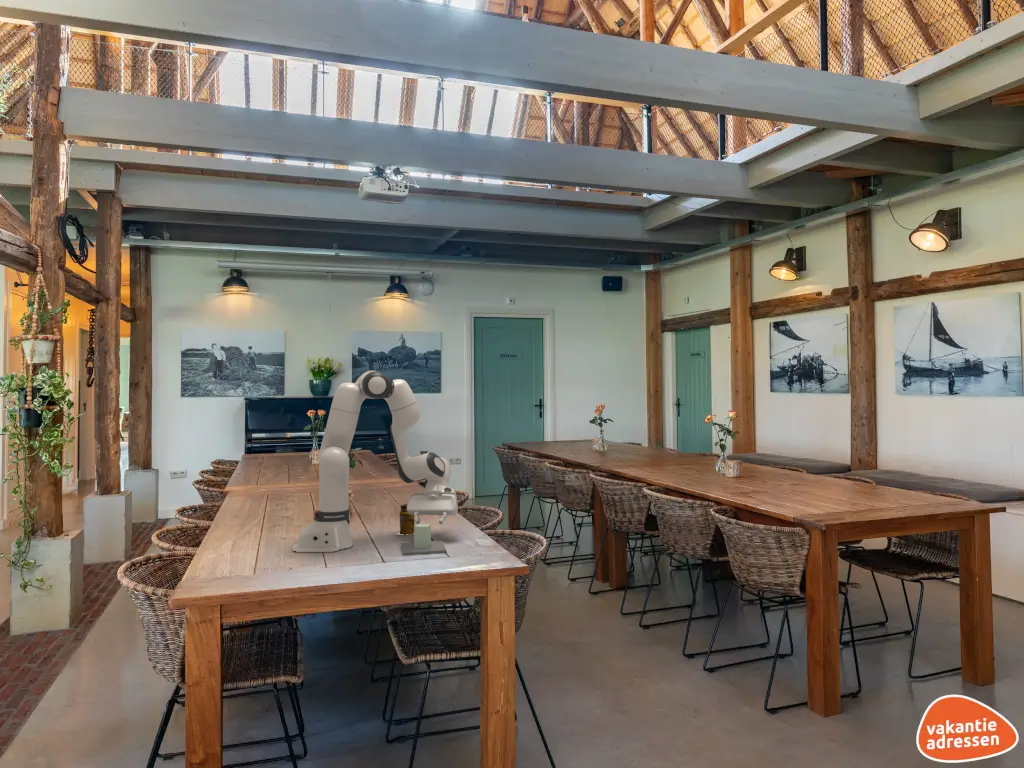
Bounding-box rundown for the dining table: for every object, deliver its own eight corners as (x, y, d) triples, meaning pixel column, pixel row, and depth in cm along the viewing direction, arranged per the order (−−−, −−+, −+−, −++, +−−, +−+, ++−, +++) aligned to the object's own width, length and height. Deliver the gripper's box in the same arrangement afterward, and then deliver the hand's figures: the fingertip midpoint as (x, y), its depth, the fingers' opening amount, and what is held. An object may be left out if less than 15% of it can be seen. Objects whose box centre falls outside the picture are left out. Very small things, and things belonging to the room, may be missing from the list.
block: (414, 547, 258) (414, 526, 258) (418, 544, 263) (417, 523, 263) (427, 548, 258) (427, 526, 258) (430, 545, 263) (430, 524, 263)
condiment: (418, 534, 287) (417, 505, 287) (399, 536, 282) (399, 507, 282) (410, 531, 293) (410, 502, 293) (392, 533, 288) (391, 505, 288)
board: (402, 555, 251) (402, 552, 251) (400, 545, 267) (400, 543, 267) (446, 552, 254) (446, 550, 254) (441, 543, 270) (441, 540, 270)
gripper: (408, 488, 278) (401, 517, 269) (458, 489, 275) (452, 518, 266) (412, 498, 283) (405, 526, 273) (460, 498, 280) (455, 527, 270)
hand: (429, 522), depth 269 cm, fingers open, 8 cm apart
